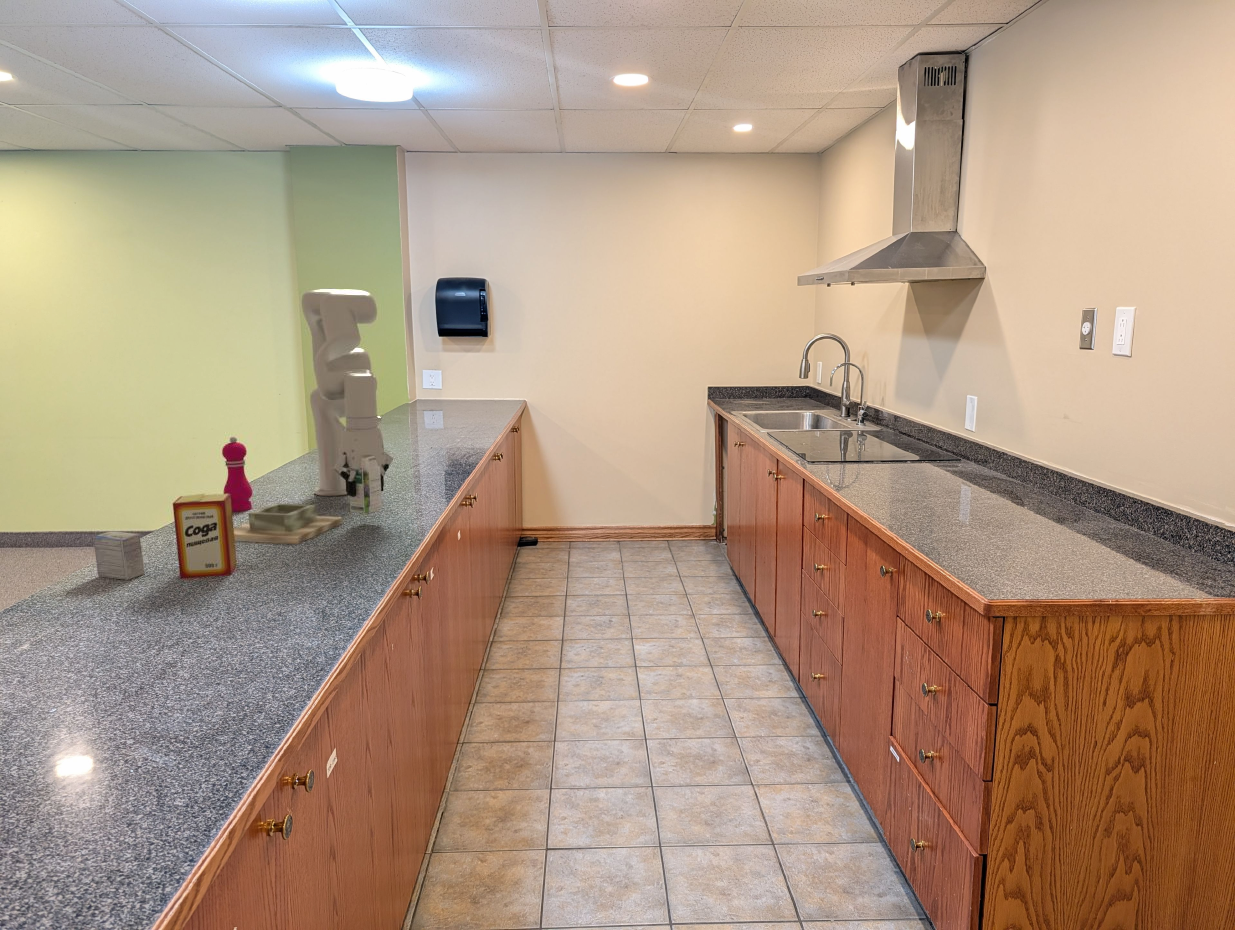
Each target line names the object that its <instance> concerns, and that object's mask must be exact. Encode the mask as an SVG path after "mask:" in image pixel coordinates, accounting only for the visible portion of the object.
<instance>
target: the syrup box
mask: <svg viewBox="0 0 1235 930" xmlns="http://www.w3.org/2000/svg"><path fill="white" fill-rule="evenodd" d="M353 481H355V482H356V496H355V497H352V496H349V508H350V512H351V513H361V514H366V515H369V514H372V513H374V512H375V513H376V512H378V511H380V510H382V509H383V506H382V505H383V502H382V491H381V476H380V466H378V465H377V462H376V459H375V457H374V455H370V456H365V457H362V458H361V469H360V470H357V471H356V474H355V476H354V479H353Z"/></svg>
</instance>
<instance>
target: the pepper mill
mask: <svg viewBox="0 0 1235 930" xmlns="http://www.w3.org/2000/svg"><path fill="white" fill-rule="evenodd" d="M237 441H238V438H237V437H236V436H231V437H230V438H229V442H228V443H226V444H224V446H223V447H222V451H221V453H222V456H223V458H224V459H225V461H224V463H225V467H227V479H226V482H225V484H224V487H223V493H222V494H230V495H231V506H232V512H245V511H248V510H251V509H252V508H253V506H252V501H251V500H250V499H251V498H252V497H253V488H252V486H251V483H250V482H249V480H248V478H247V476H246V473H245V465H246V464H247V463H246V460H245V459H244V458H245V457H246V456H247V448H246V446H245V445H244V444H243V443H241V442H237Z"/></svg>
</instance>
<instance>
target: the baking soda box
mask: <svg viewBox="0 0 1235 930" xmlns="http://www.w3.org/2000/svg"><path fill="white" fill-rule="evenodd" d="M172 509H173V521H174V528H175V537H176V538H175V540H176V549H177V559H178V571H179V578H180V579H183V580H184V579H195V578H206V577H207V578H208V577H220V576H222V577H223V576H231V575H232V574H233V572H235V569H236V567H238V563H237V552H236V540H234V528H235V527H234V520H233V511H232V506H231V495H230V494H223V493H219V494H218V493H216V494H205V493H200V494H189V495H181V496H179V497H177V499H176V500H175V501H174V502H172Z"/></svg>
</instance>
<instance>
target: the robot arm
mask: <svg viewBox="0 0 1235 930" xmlns="http://www.w3.org/2000/svg"><path fill="white" fill-rule="evenodd" d="M377 307H378V306H377V303H376V301H375V299H374V297H373V295H372V294H371V293H370V292H368V291H365V290H359V289H314V290H312V289H311V290H308V291H305V293H303V294H302V297H301V308H302V312H303V315H304V318H305V320H306V323H307V325H308V328H309V331H310V334H311V344H312V346H311V347H312V361H313V362H312V363H313V372H314V377H315V380H316V386H317V387H316V388H315V389H313V390H312V391H311V393H310V396H309V403H310V408H311V412H312V417H313V422H314V430H315V442H316V458H317V471H318V473H317V474H318V484H319V486H317V487H315V488H314V489H313V493H314V494H315V495H317V496H323V497H332V496H333V497H334V496H335V497H336V496H344V495H347V496H349V497H350V496H352V497H355V496H356V482H355V481H353V479H354V476H355V474H356V471H357V470H360V469H361V458H362V457H365V456H370V455H374V457H375V459H376V462H377V465H378V466H380V476H381V492H384V487H385V480H384V476H385V475H386V472H388V470H389V468H390V465H391V464H392V462H393V461H394V456H393V457H392V456H391V455H390V454H388V453H387V452H385V445H384V439H383V434H382V431H381V427H379V422H380V423H381V422H382V417H381V416H379V415H378V408H377V407H378V405H377V390H378V389H377V388H378V381H377V377H376V375H375V374H374V373H373V371H372V363H371V359H370V356H369V353H368V352H367V350H365V349H363V348H359V346H360V344H361V340H362V338H361V334H360V331H359V326H358V324H359V325H361V324H374V322H375V321H376V318H377V314H378V308H377ZM344 418H345V424H343V422H341V420H340V419H344Z"/></svg>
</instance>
